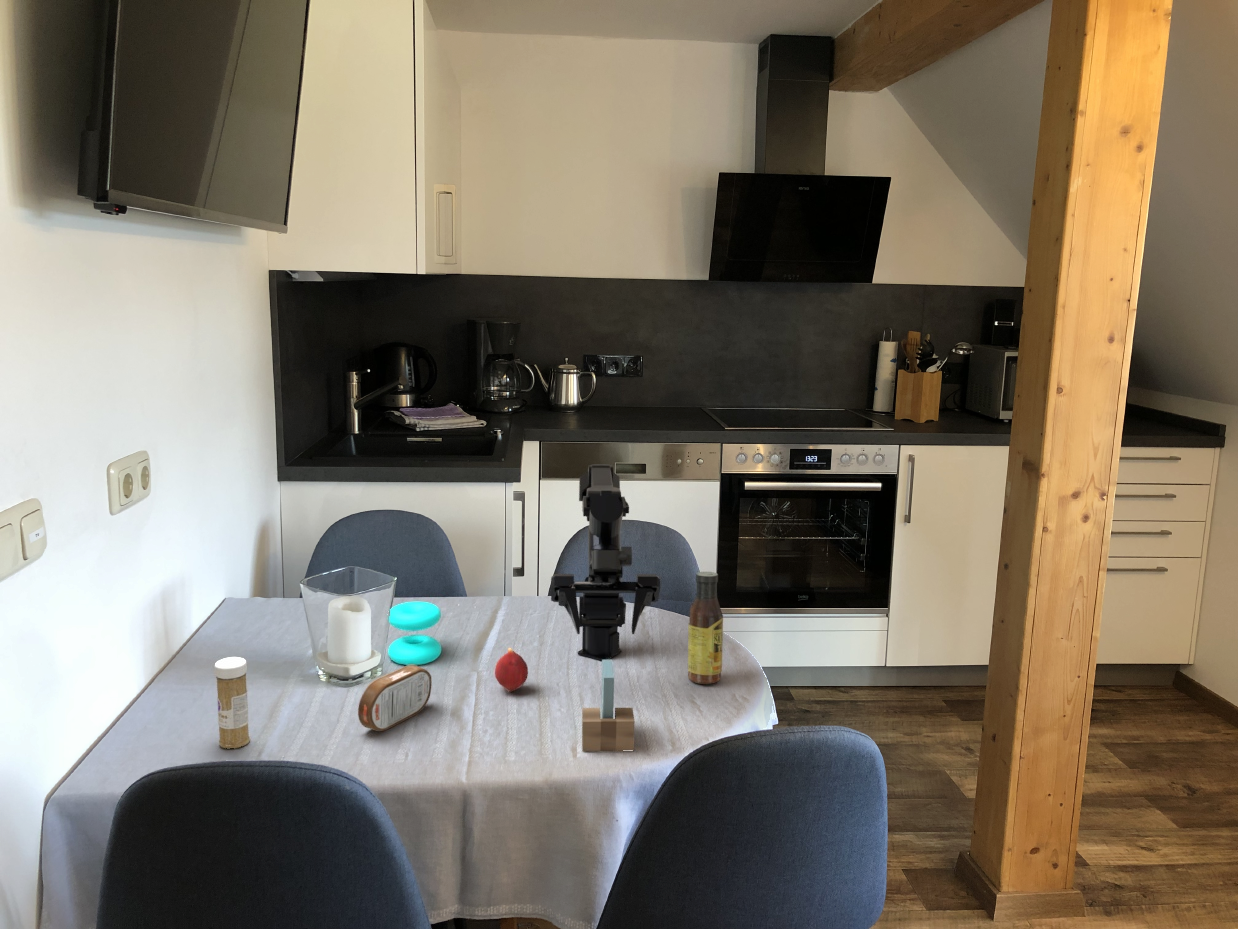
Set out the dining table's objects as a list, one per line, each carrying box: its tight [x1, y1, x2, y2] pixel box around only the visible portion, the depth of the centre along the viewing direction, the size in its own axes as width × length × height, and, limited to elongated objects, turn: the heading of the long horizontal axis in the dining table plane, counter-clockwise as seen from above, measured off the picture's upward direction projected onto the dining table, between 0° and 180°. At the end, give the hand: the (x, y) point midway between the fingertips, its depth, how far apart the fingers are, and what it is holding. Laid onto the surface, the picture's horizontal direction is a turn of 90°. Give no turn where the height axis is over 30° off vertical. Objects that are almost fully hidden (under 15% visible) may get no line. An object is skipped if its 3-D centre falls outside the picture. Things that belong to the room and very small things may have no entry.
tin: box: [357, 664, 433, 732], centre depth 162 cm, size 15×3×8 cm, turn 149°
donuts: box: [387, 601, 442, 666], centre depth 189 cm, size 10×10×10 cm
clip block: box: [581, 707, 635, 752], centre depth 155 cm, size 5×8×5 cm, turn 93°
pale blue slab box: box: [600, 659, 615, 719], centre depth 158 cm, size 8×2×11 cm, turn 3°
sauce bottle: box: [687, 571, 724, 685], centre depth 180 cm, size 6×6×20 cm
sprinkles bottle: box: [214, 656, 251, 750], centre depth 152 cm, size 5×5×13 cm
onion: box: [494, 647, 529, 692], centre depth 174 cm, size 6×6×8 cm
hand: (605, 633), depth 166 cm, fingers open, 9 cm apart
